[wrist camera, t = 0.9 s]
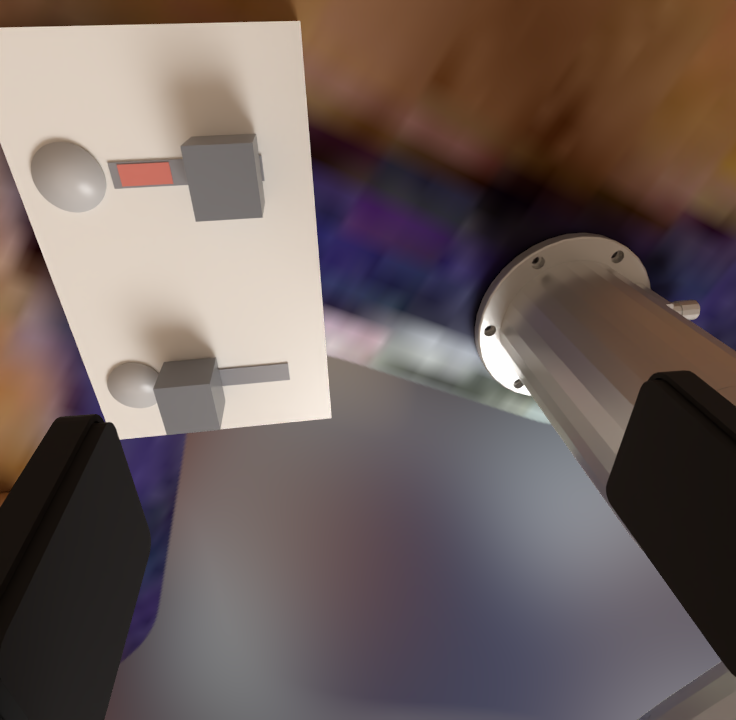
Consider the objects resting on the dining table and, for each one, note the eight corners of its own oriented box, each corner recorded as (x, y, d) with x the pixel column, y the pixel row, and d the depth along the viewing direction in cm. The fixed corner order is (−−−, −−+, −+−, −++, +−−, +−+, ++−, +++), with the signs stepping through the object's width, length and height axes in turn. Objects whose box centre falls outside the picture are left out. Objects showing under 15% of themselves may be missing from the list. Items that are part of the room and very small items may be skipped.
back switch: (216, 357, 30) (209, 383, 27) (225, 401, 31) (220, 429, 29) (163, 362, 29) (152, 389, 27) (176, 405, 31) (166, 435, 29)
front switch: (256, 133, 24) (252, 142, 21) (265, 202, 26) (262, 217, 23) (191, 136, 24) (180, 145, 21) (204, 205, 25) (195, 221, 23)
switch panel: (298, 24, 25) (300, 20, 22) (327, 384, 37) (331, 419, 33) (3, 31, 24) (-46, 28, 20) (129, 403, 36) (112, 442, 32)
